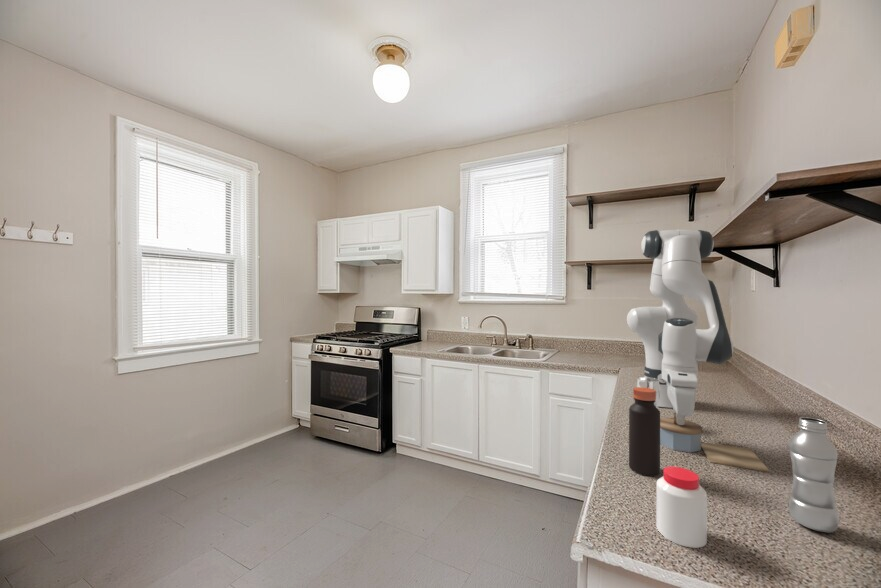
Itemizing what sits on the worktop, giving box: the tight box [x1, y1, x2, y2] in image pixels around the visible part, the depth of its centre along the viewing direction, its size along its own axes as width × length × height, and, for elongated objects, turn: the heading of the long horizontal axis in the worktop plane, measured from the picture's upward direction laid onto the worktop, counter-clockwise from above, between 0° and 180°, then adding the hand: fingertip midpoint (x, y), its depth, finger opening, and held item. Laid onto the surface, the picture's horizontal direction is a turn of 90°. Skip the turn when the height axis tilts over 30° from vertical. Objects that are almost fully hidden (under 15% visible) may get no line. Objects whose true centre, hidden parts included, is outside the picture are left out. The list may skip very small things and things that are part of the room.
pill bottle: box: [655, 465, 708, 549], centre depth 67 cm, size 8×8×11 cm
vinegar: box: [628, 386, 661, 477], centre depth 92 cm, size 7×7×20 cm
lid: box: [660, 412, 703, 435], centre depth 107 cm, size 11×11×4 cm
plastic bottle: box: [787, 416, 840, 534], centre depth 69 cm, size 6×7×20 cm
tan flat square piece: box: [701, 441, 771, 473], centre depth 100 cm, size 14×12×1 cm
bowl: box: [660, 428, 702, 453], centre depth 107 cm, size 10×10×5 cm
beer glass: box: [636, 376, 660, 410], centre depth 125 cm, size 7×7×15 cm
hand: (679, 422), depth 107 cm, fingers closed on lid, 3 cm apart
